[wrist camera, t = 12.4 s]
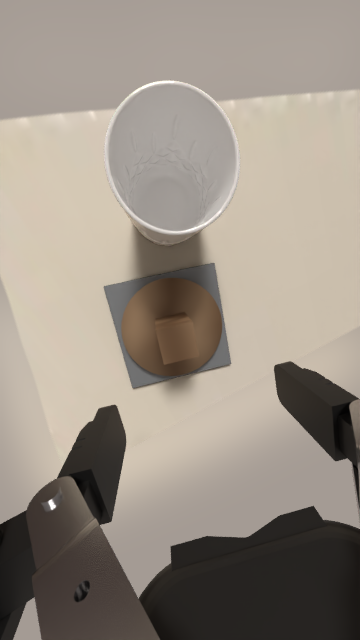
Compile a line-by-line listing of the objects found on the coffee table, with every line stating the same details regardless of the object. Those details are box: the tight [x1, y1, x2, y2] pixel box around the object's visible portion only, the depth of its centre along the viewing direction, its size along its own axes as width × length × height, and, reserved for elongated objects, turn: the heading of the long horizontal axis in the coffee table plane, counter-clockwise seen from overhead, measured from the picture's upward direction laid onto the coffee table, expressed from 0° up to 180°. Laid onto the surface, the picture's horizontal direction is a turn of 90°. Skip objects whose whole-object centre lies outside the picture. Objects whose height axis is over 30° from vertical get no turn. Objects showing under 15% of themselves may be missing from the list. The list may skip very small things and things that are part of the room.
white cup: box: [104, 81, 240, 246], centre depth 17 cm, size 8×8×10 cm
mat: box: [104, 263, 231, 388], centre depth 25 cm, size 12×12×1 cm
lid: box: [121, 278, 222, 376], centre depth 22 cm, size 11×11×6 cm
